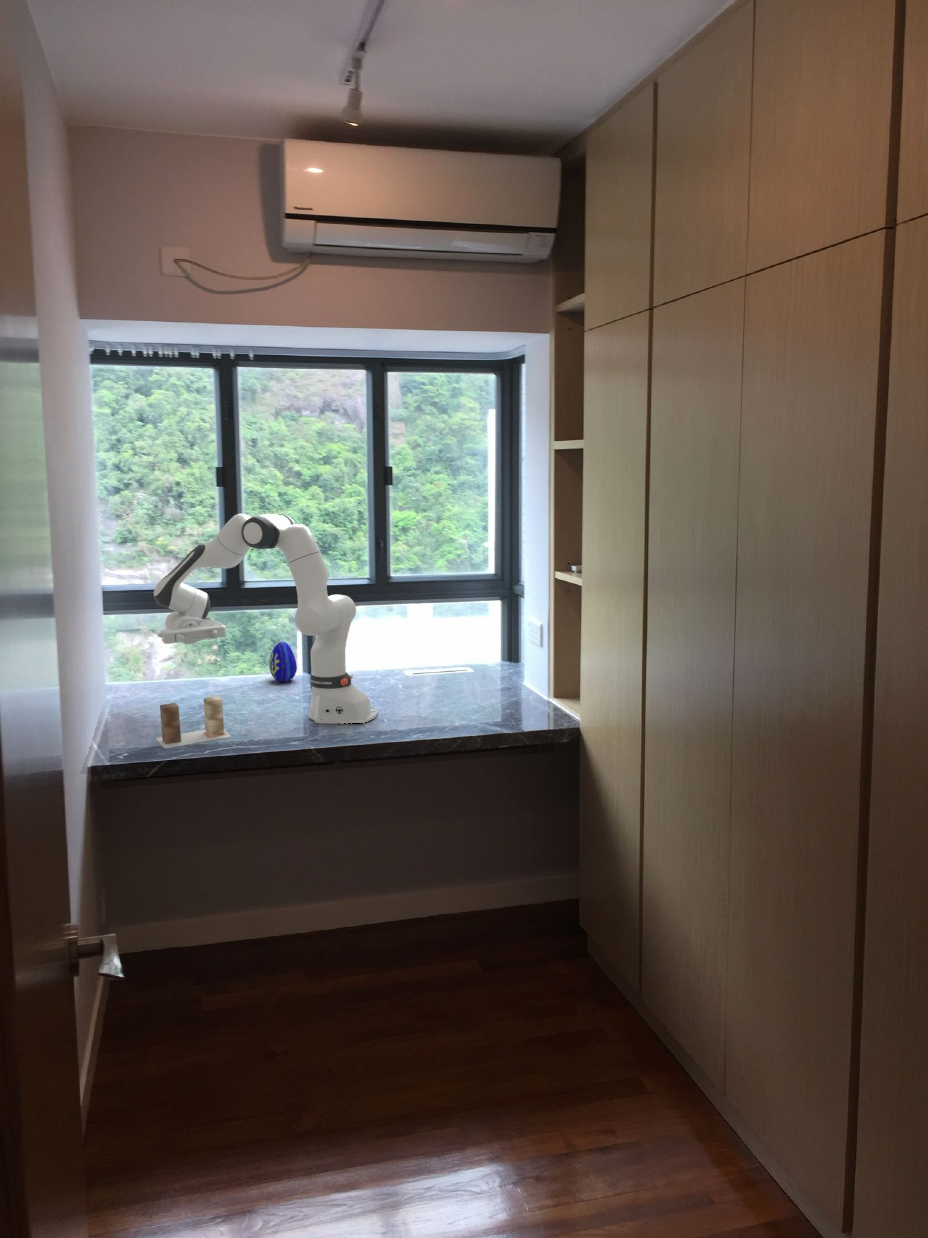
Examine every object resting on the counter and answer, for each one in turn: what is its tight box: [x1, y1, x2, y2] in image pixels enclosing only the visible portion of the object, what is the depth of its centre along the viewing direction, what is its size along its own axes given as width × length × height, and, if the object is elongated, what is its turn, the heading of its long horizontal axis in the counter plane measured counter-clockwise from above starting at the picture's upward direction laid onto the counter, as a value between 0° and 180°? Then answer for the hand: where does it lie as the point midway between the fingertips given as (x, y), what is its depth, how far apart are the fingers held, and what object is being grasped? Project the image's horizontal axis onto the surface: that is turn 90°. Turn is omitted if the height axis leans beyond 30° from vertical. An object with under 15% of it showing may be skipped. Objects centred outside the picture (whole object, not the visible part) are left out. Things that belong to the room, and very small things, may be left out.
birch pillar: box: [203, 695, 225, 736], centre depth 288 cm, size 4×4×11 cm
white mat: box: [155, 729, 232, 749], centre depth 286 cm, size 20×11×1 cm, turn 121°
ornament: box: [268, 641, 298, 683], centre depth 350 cm, size 11×9×15 cm
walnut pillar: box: [159, 702, 182, 744], centre depth 282 cm, size 4×4×11 cm
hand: (200, 637), depth 299 cm, fingers open, 8 cm apart
